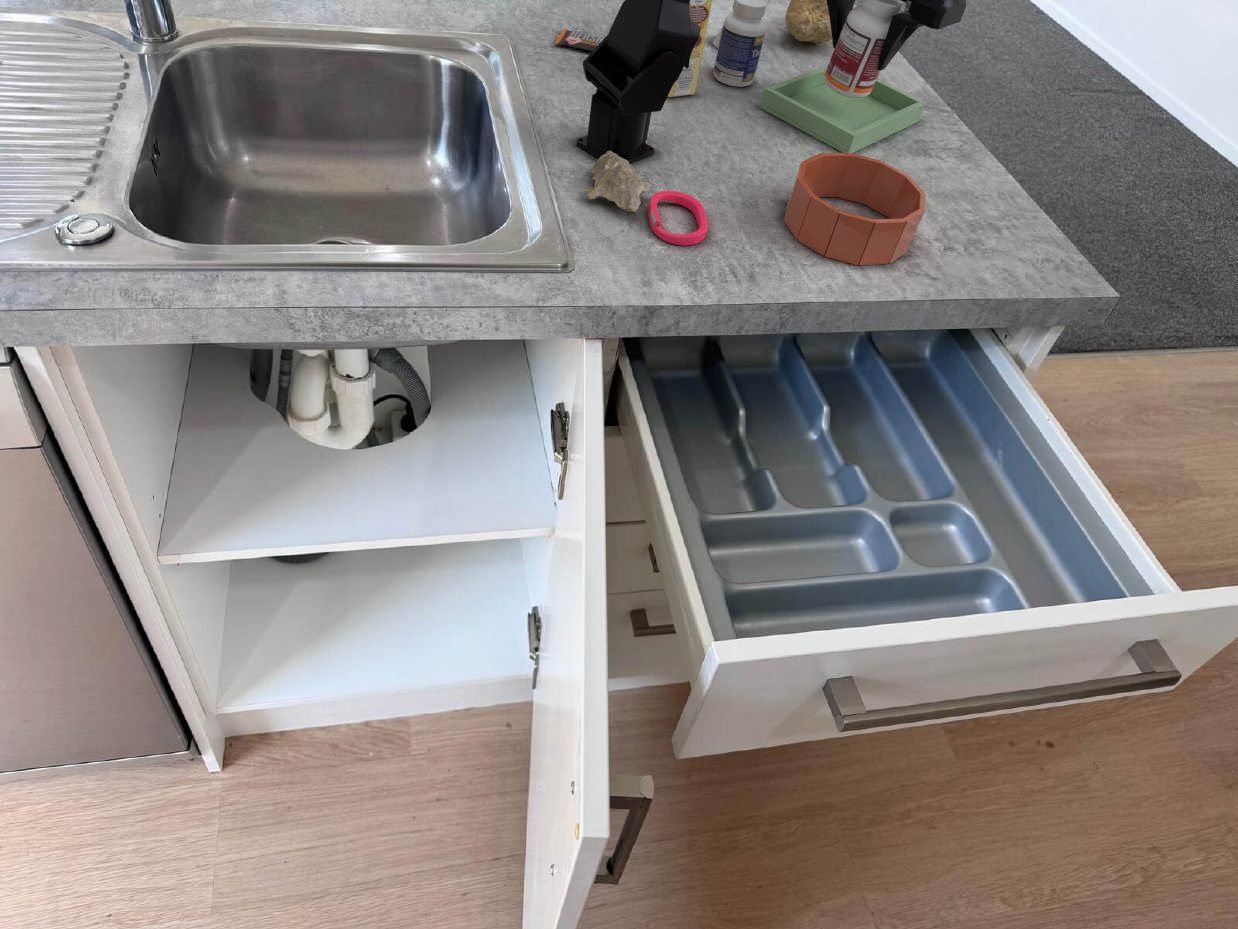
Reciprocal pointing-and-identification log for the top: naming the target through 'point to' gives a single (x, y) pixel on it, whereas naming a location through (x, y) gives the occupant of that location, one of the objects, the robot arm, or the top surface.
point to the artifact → (617, 182)
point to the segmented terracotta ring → (851, 232)
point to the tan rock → (809, 20)
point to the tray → (841, 111)
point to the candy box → (688, 77)
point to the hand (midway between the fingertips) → (858, 58)
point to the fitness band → (688, 203)
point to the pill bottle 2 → (860, 48)
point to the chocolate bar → (579, 40)
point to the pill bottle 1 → (741, 43)
